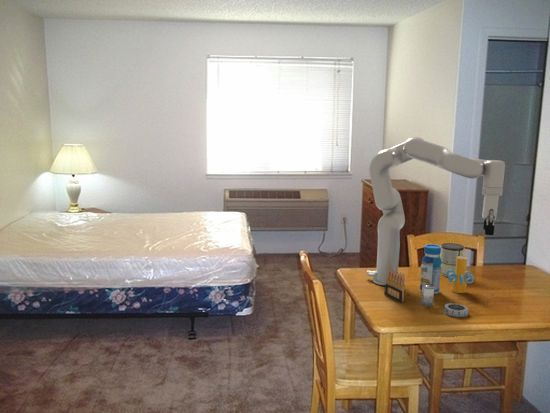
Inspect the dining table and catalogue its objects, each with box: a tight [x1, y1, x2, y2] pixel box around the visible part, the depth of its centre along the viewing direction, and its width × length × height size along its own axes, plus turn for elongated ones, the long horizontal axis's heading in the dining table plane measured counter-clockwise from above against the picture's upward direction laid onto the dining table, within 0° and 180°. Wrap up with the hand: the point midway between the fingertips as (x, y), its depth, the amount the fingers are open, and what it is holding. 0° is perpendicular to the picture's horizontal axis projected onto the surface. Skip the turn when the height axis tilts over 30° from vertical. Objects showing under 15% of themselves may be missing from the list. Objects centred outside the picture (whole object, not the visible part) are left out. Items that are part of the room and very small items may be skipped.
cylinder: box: [446, 256, 475, 294], centre depth 219 cm, size 12×10×15 cm
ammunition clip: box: [384, 268, 406, 304], centre depth 209 cm, size 11×2×12 cm, turn 26°
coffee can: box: [440, 242, 465, 278], centre depth 243 cm, size 10×10×14 cm
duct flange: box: [443, 302, 469, 319], centre depth 196 cm, size 9×9×2 cm
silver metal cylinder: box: [420, 284, 435, 308], centre depth 204 cm, size 5×5×8 cm
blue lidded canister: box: [419, 243, 442, 295], centre depth 218 cm, size 8×8×20 cm
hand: (488, 232), depth 209 cm, fingers open, 9 cm apart
